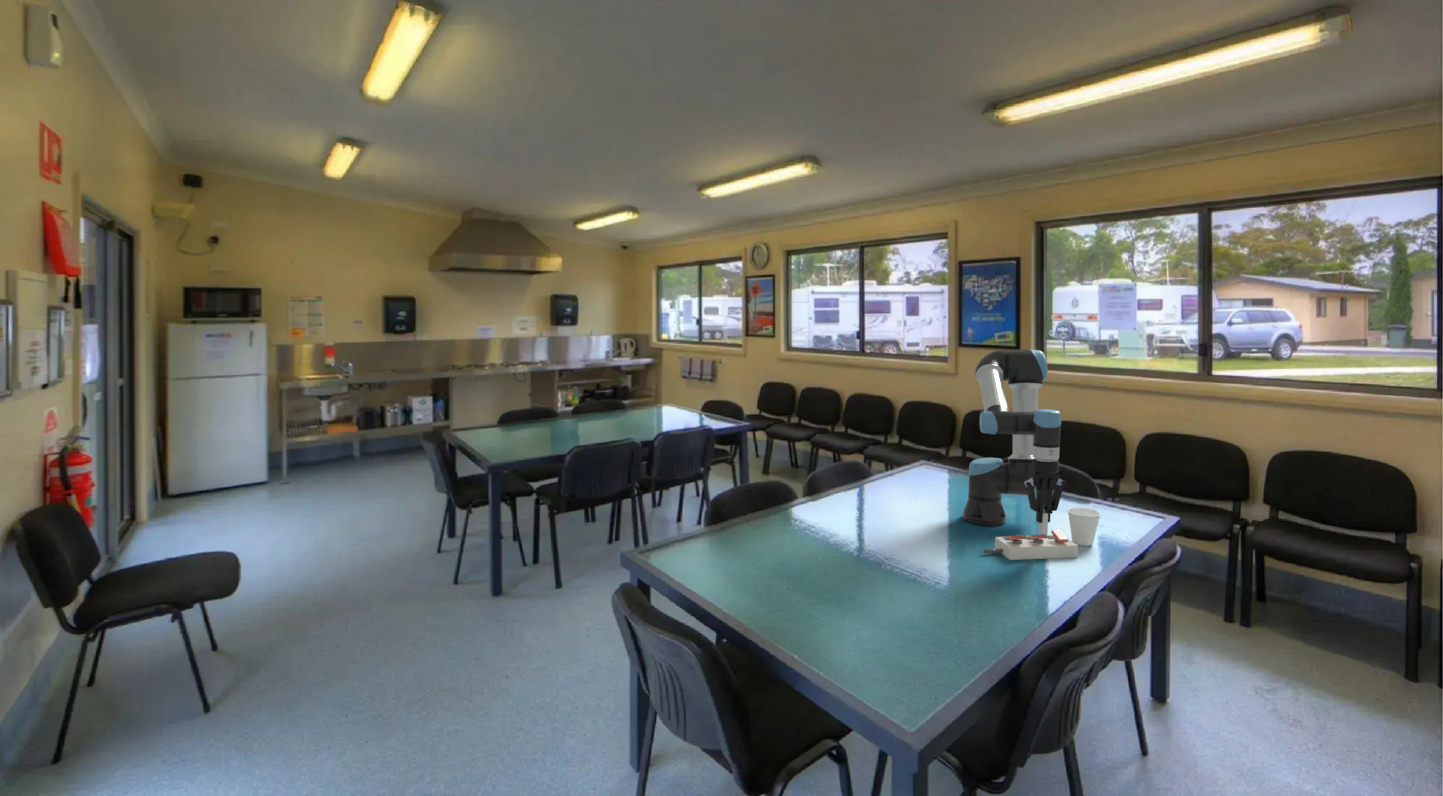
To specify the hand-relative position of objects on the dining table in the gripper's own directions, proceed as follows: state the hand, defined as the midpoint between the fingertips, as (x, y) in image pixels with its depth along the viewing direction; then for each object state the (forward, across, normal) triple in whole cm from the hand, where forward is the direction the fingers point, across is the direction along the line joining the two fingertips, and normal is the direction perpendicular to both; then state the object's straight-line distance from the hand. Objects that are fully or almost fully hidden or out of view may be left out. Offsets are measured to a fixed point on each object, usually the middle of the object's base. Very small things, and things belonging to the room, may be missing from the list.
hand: (1042, 532), depth 205 cm
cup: (+8, +20, +11) cm, 24 cm away
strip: (+8, -3, +4) cm, 10 cm away
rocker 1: (+2, -7, +2) cm, 8 cm away
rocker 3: (+2, +7, +2) cm, 8 cm away
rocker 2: (+2, 0, +2) cm, 3 cm away
